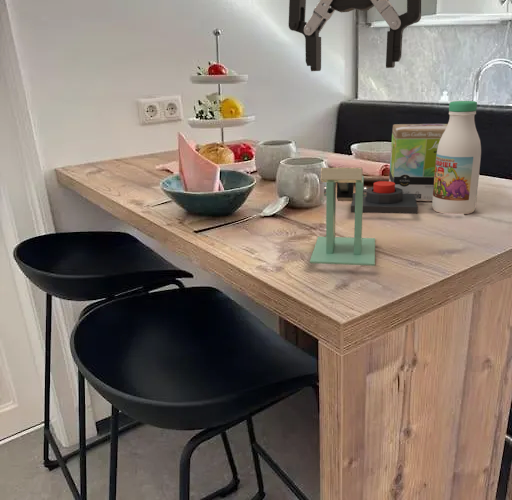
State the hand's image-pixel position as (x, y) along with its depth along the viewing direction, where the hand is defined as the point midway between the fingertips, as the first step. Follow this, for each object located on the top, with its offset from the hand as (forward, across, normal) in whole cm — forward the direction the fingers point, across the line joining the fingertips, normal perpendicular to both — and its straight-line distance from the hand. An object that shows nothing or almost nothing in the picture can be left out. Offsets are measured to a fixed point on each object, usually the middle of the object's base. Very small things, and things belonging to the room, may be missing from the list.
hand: (351, 69), depth 57 cm
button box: (+26, +1, -36) cm, 45 cm away
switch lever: (+16, +2, -5) cm, 16 cm away
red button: (+23, +1, -36) cm, 43 cm away
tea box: (+27, -6, -48) cm, 55 cm away
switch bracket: (+26, +2, -9) cm, 28 cm away
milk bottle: (+27, -12, -39) cm, 49 cm away
